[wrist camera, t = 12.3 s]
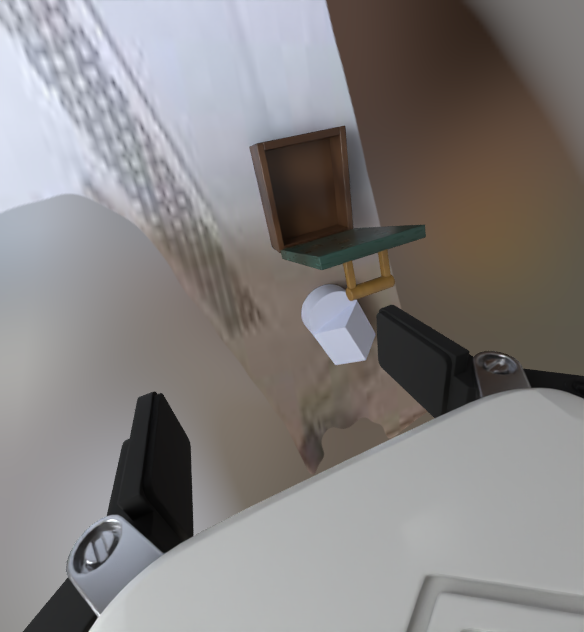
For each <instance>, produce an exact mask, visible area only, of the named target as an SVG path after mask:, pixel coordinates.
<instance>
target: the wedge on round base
mask: <svg viewBox="0 0 584 632" xmlns="http://www.w3.org/2000/svg"><path fill="white" fill-rule="evenodd" d="M301 315H302V320H303V323H304V324H305V326H306V327H307V328H308V329H309V331H310V332H311V333H312V334H313V335H314V337H315V338H316V340H317V341H318V342H319V344H320V345H321V346H322V348H323V349H324V350H325V352H326V353H327V354H328V356H329V357H330V358H331V360H332V361H333V362H334V364H335V365H339V364H345V363H351V362H358V361H364V360H366V359H367V356H368V353H369V351H370V348H371V345H372V343H373V340H374V337H375V335H376V334H375V332H374V330H373V328H372V327H371V325H370V323H369V321H368V319H367V318H366V316H365V314H364V312H363V310H362V308H361V307H360V305H359V303H358V301H357V300H353V301H349V300H348V298H347V296H346V290H344V289H343V288H342V287H340V286H338V285H334V284H326V285H322V286H320V287H318V288H316V289H315V290H313V291H312V292H311V293H310V294H309V295H308V296H307V298H306V299H305V301H304V303H303V306H302V312H301Z"/></svg>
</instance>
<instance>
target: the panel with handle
mask: <svg viewBox="0 0 584 632" xmlns="http://www.w3.org/2000/svg"><path fill="white" fill-rule="evenodd" d="M425 237H426V234H425V225H408V226H388V227H368V228H354V229H350V230H347V231H344V232H340V233H337V234H333V235H330V236H326V237H323V238H320V239H316V240H313V241H309V242H306V243H302V244H299V245H296V246H292V247H289V248H285V249H282V250H280V251H281V255H282V259H285V260H288V261H292V262H295V263H299V264H302V265H306V266H309V267H313V268H316V269H320V270H324V269H327V268H330V267H333V266H337V265H340V264H343V266H344V271H345V277H346V282H347V287H348V288H347V289H346V296H347V298H348V300H349V301H353V300H356V299H359V298H362V297H365V296H368V295H370V294H373V293H376V292H379V291H382V290H385V289H388V288H390V287H393V286H394V284H395V280H394V277H393V276H392V275H391V274H390V266H389V259H388V251H387V249H390V248H393V247H396V246H400V245H403V244H406V243H409V242H412V241H415V240H418V239H421V238H425ZM374 253H378V255H379V262H380V269H381V277H378V278H375V279H372V280H369V281H366V282H363V283H360V284H358V285H356V281H355V275H354V269H353V264H352V260H355V259H359V258H362V257H365V256H368V255H371V254H374Z"/></svg>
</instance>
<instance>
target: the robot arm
mask: <svg viewBox="0 0 584 632" xmlns="http://www.w3.org/2000/svg"><path fill="white" fill-rule="evenodd" d="M376 318H377V341H378V361H379V364H380V366H381V367H382V368H383V369H384V370H385V371H386V372H387V373H388V374H389V375H390V376H391V377H392V378H393V379H394V380H395V381H396V382H397V383H398V384H399V385H401V386H402V387H403V388H404V389H405V390H406V391H407V392H408V393H409V394H410V395H411V396H412V397H413V398H414V399H415V400H416V401H417V402H418V403H419V404H420V405H421V406H422V407H424V408H425V409H426V410H427V411H428V412H429V413H430V414H431V415H432V416H433V417H434V418H435V419H433V420H431V421H428V422H426V423H425V424H422V425H420V426H418V427H416V428H414V429H412V430H410V431H407V432H405V433H403V434H401V435H399V436H397V437H395V438H392V439H390V440H388V441H386V442H384V443H382V444H380V445H378V446H376V447H373V448H372V449H369V450H367V451H365V452H363V453H361V454H359V455H357V456H355V457H353V458H351V459H349V460H346V461H344V462H342V463H340V464H338V465H336V466H334V467H332V468H330V469H328V470H325V471H323V472H321V473H319V474H317V475H315V476H313V477H311V478H309V479H307V480H305V481H303V482H301V483H299V484H296V485H294V486H293V487H290V488H288V489H286V490H284V491H282V492H280V493H278V494H276V495H274V496H272V497H270V498H268V499H266V500H264V501H261V502H259V503H257V504H255V505H253V506H252V507H249V508H247V509H245V510H243V511H241V512H239V513H237V514H235V515H233V516H231V517H229V518H227V519H225V520H224V521H221V522H219V523H218V524H215V525H213V526H212V527H210V528H208V529H206V530H204V531H202V532H200V533H198V534H196V535H195V536H193V505H192V504H193V503H192V475H191V446H190V441H189V439H188V437H187V435H186V433H185V431H184V430H183V428H182V426H181V425H180V423H179V421H178V419H177V418H176V416H175V414H174V412H173V411H172V409H171V407H170V406H169V404H168V402H167V400H166V399H165V397H164V395H163V394H162V393H160V394H157V393H156V392H151V393H149V394H146V395H143V396H141V397H139V398H138V400H137V404H136V409H135V415H134V420H133V425H132V430H131V435H130V439H128V440H126V441H124V443H123V445H122V449H121V453H120V458H119V462H118V467H117V472H116V476H115V481H114V485H113V490H112V494H111V499H110V503H109V508H108V512H107V516H106V517H104V518H102V519H100V520H98V521H97V522H95V523H94V524H92V525H91V526H90V527H89V528H88V529H87V530H86V531H85V532H84V533H83V534H82V535H81V537H80V538H79V539H78V540H77V541H76V543H75V545H74V547H73V548H72V550H71V552H70V555H69V557H68V560H67V566H66V572H67V575H68V578H67V579H66V580H65V582H64V583H63V584H62V585H61V586H60V588H59V589H58V590H57V591H56V593H55V594H54V595H53V596H52V597H51V599H50V600H49V601H48V602H47V603H46V605H45V606H44V607H43V608H42V609H41V610H40V612H39V613H38V614H37V615H36V616H35V618H34V619H33V620H32V621H31V623H30V624H29V625H28V626H27V627H26V629H25V630H24V631H23V632H584V376H579V375H571V374H563V373H554V372H546V371H538V370H530V369H523V368H522V366H521V364H520V363H519V361H517V360H516V359H515V358H514V357H512V356H509V355H507V354H504V353H501V352H495V351H484V352H480V353H478V354H476V355H475V356H474V357H473V356H471V355H470V354H469V351H468V350H467V349H465V348H463V347H461V346H460V345H459V344H457V343H455V342H454V341H452V340H450V339H449V338H447V337H445V336H444V335H442V334H440V333H439V332H437V331H436V330H434V329H432V328H431V327H429V326H427V325H426V324H424V323H422V322H421V321H419V320H417V319H416V318H414V317H413V316H411V315H409V314H407V313H406V312H404V311H403V310H401V309H399V308H398V307H396V306H394V305H390V306H387V307H384V308H381V309H380V310H379V313H378V314H377V316H376Z"/></svg>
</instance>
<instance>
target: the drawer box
mask: <svg viewBox="0 0 584 632" xmlns="http://www.w3.org/2000/svg"><path fill="white" fill-rule="evenodd" d="M250 152H251V156H252V160H253V165H254V169H255V174H256V178H257V182H258V187H259V191H260V196H261V200H262V205H263V209H264V213H265V218H266V222H267V227H268V231H269V235H270V240H271V244H272V247H273V248H274V249H275V250H277V251H278V252H279V253H281V251H280V250H282V249H285V248H289V247H292V246H296V245H299V244H302V243H306V242H309V241H313V240H316V239H320V238H323V237H326V236H330V235H333V234H337V233H340V232H344V231H347V230H350V229H353V220H352V207H351V194H350V181H349V168H348V155H347V142H346V129H345V126H340V127H335V128H331V129H326V130H321V131H316V132H311V133H306V134H301V135H297V136H292V137H287V138H282V139H277V140H272V141H267V142H263V143H258V144H255V145H253V146H250Z"/></svg>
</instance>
